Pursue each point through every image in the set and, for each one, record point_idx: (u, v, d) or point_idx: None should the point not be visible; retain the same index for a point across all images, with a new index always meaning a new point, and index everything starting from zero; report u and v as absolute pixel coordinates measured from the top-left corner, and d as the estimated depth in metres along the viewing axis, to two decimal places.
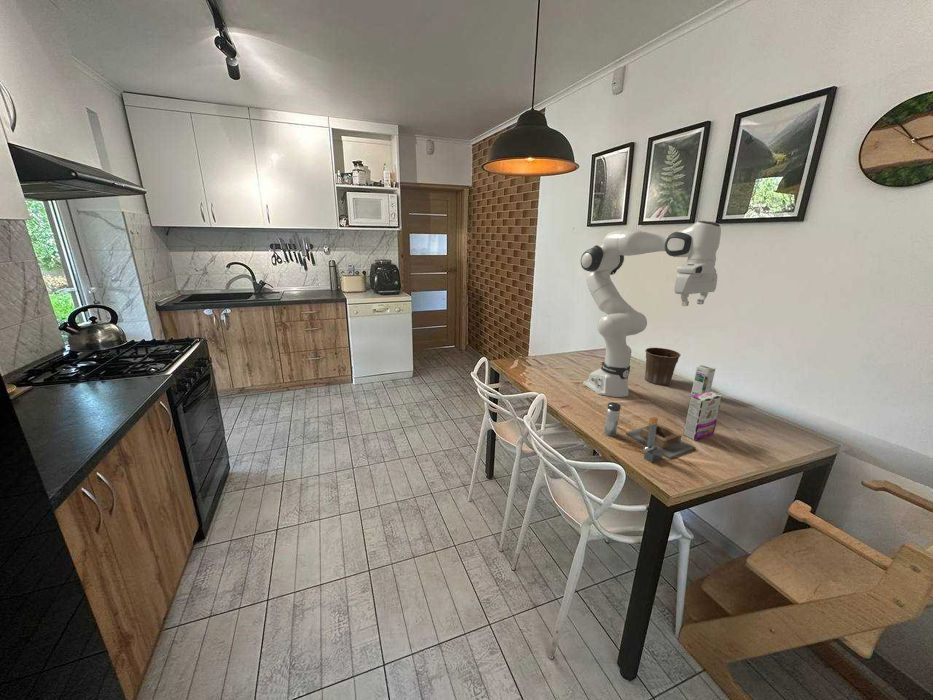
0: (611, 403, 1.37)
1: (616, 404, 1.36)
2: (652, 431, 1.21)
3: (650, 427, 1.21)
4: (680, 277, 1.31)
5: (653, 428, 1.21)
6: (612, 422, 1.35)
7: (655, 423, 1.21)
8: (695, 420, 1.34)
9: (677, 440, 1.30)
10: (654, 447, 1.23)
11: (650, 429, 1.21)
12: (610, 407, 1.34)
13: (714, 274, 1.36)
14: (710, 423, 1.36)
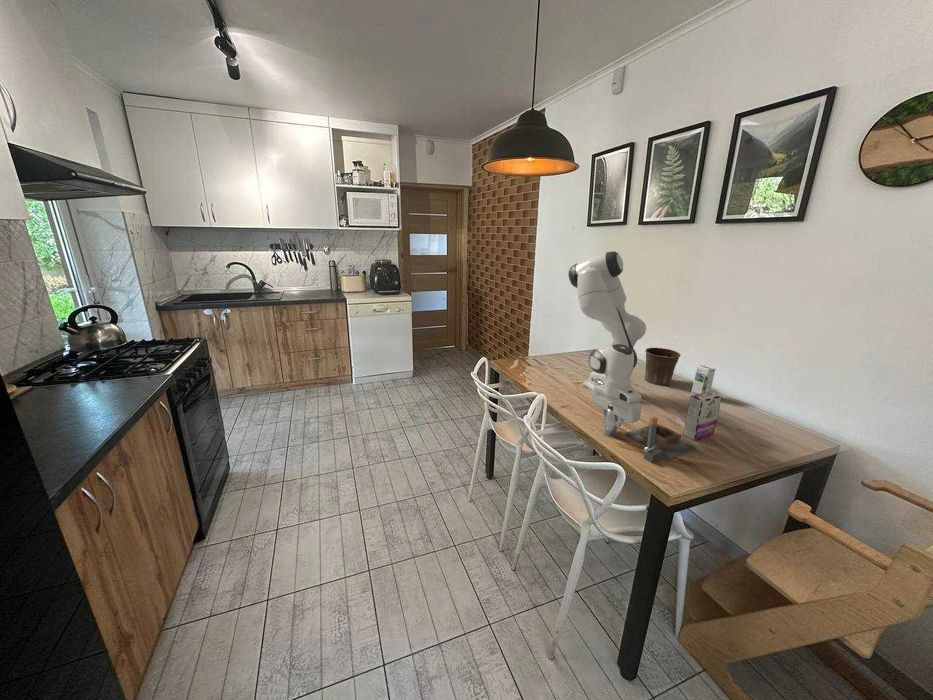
0: None
1: None
2: (652, 431, 1.21)
3: (650, 427, 1.21)
4: (635, 407, 1.26)
5: (653, 428, 1.21)
6: (612, 422, 1.35)
7: (655, 423, 1.21)
8: (695, 420, 1.34)
9: (677, 440, 1.30)
10: (654, 447, 1.23)
11: (650, 429, 1.21)
12: (610, 407, 1.34)
13: None
14: (710, 423, 1.36)
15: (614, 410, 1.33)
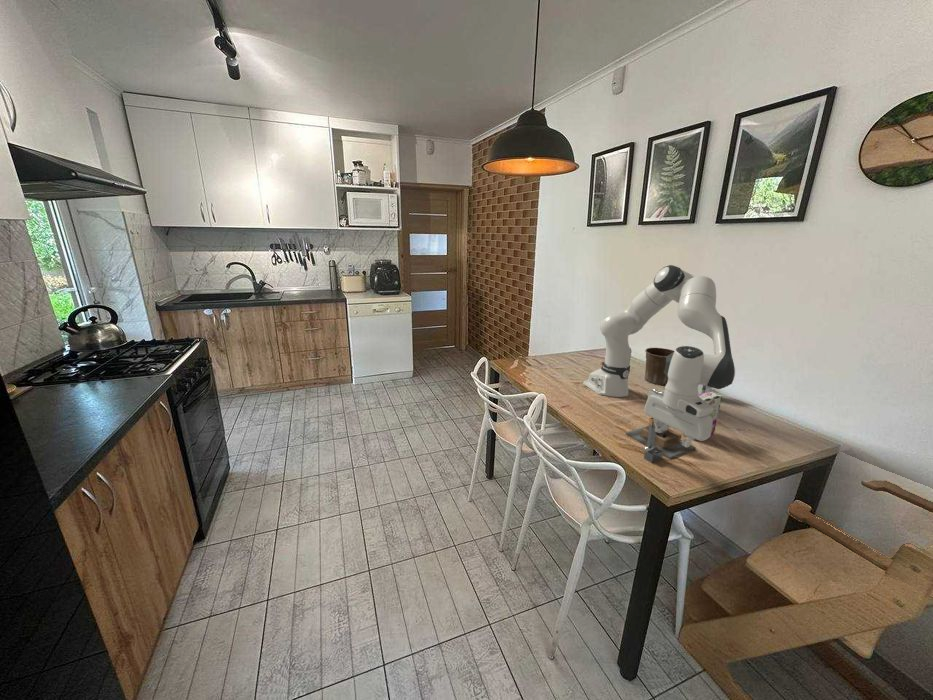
0: None
1: None
2: (652, 431, 1.21)
3: (650, 427, 1.21)
4: (706, 421, 1.05)
5: (653, 428, 1.21)
6: (663, 428, 1.30)
7: None
8: None
9: (677, 440, 1.30)
10: (654, 447, 1.23)
11: (650, 429, 1.21)
12: None
13: None
14: None
15: (677, 425, 1.12)
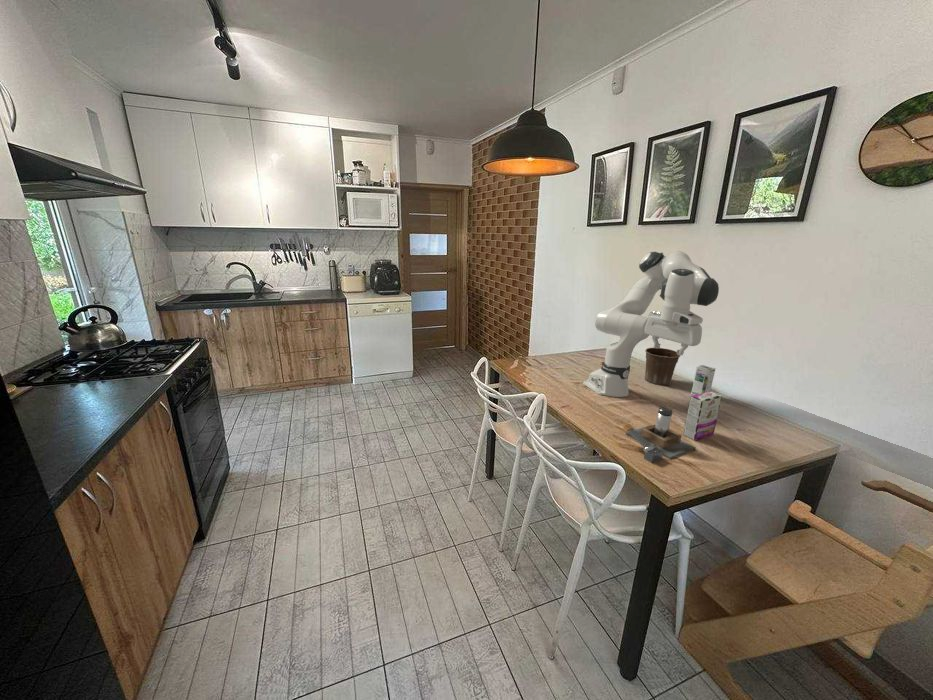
0: (662, 408, 1.31)
1: (667, 409, 1.31)
2: (634, 433, 1.28)
3: (630, 432, 1.29)
4: (697, 329, 1.25)
5: (633, 431, 1.29)
6: (663, 428, 1.30)
7: (631, 427, 1.30)
8: (695, 420, 1.34)
9: (677, 440, 1.30)
10: (654, 447, 1.23)
11: (631, 433, 1.28)
12: (661, 412, 1.29)
13: None
14: (710, 423, 1.36)
15: (672, 336, 1.32)
